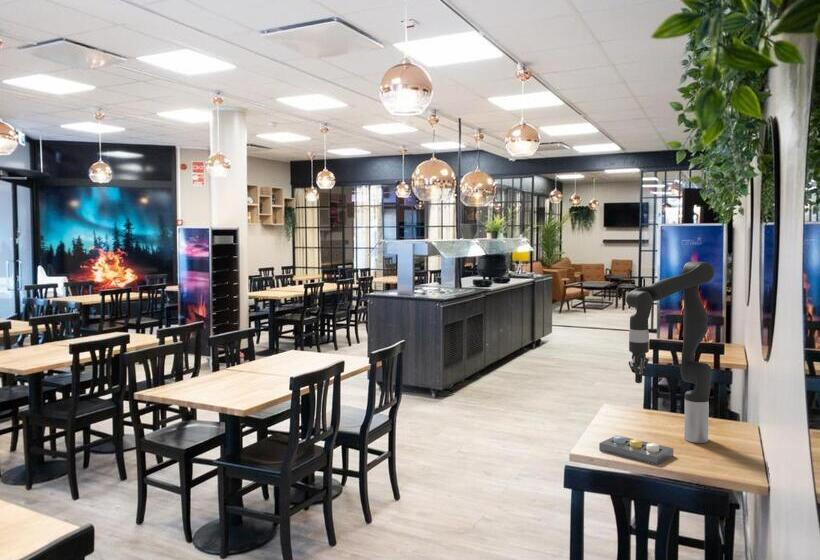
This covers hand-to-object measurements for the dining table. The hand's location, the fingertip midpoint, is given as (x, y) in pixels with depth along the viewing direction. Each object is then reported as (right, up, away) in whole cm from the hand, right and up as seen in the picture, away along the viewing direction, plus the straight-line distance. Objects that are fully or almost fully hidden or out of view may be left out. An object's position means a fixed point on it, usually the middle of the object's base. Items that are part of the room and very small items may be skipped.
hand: (638, 382), depth 257 cm
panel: (-3, -27, -4) cm, 28 cm away
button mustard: (-3, -27, -4) cm, 27 cm away
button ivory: (+2, -27, -9) cm, 29 cm away
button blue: (-7, -27, +1) cm, 28 cm away
